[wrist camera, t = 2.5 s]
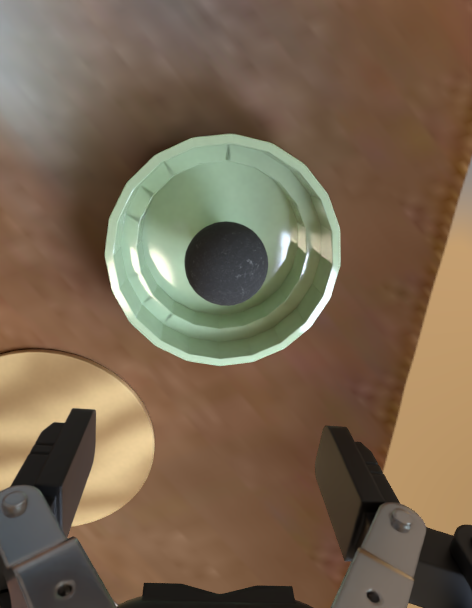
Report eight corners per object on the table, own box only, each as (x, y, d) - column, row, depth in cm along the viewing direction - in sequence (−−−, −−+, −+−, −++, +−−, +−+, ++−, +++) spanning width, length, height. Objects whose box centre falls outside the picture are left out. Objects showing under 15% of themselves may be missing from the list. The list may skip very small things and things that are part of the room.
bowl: (84, 190, 33) (58, 199, 27) (274, 101, 32) (292, 90, 26) (176, 357, 39) (172, 396, 33) (341, 286, 38) (369, 312, 32)
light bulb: (227, 193, 34) (238, 210, 25) (268, 247, 36) (292, 283, 26) (172, 236, 35) (163, 268, 25) (215, 287, 37) (220, 335, 27)
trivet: (-112, 402, 38) (-116, 406, 38) (88, 313, 37) (86, 316, 36) (17, 549, 45) (14, 554, 44) (189, 478, 44) (188, 482, 43)
